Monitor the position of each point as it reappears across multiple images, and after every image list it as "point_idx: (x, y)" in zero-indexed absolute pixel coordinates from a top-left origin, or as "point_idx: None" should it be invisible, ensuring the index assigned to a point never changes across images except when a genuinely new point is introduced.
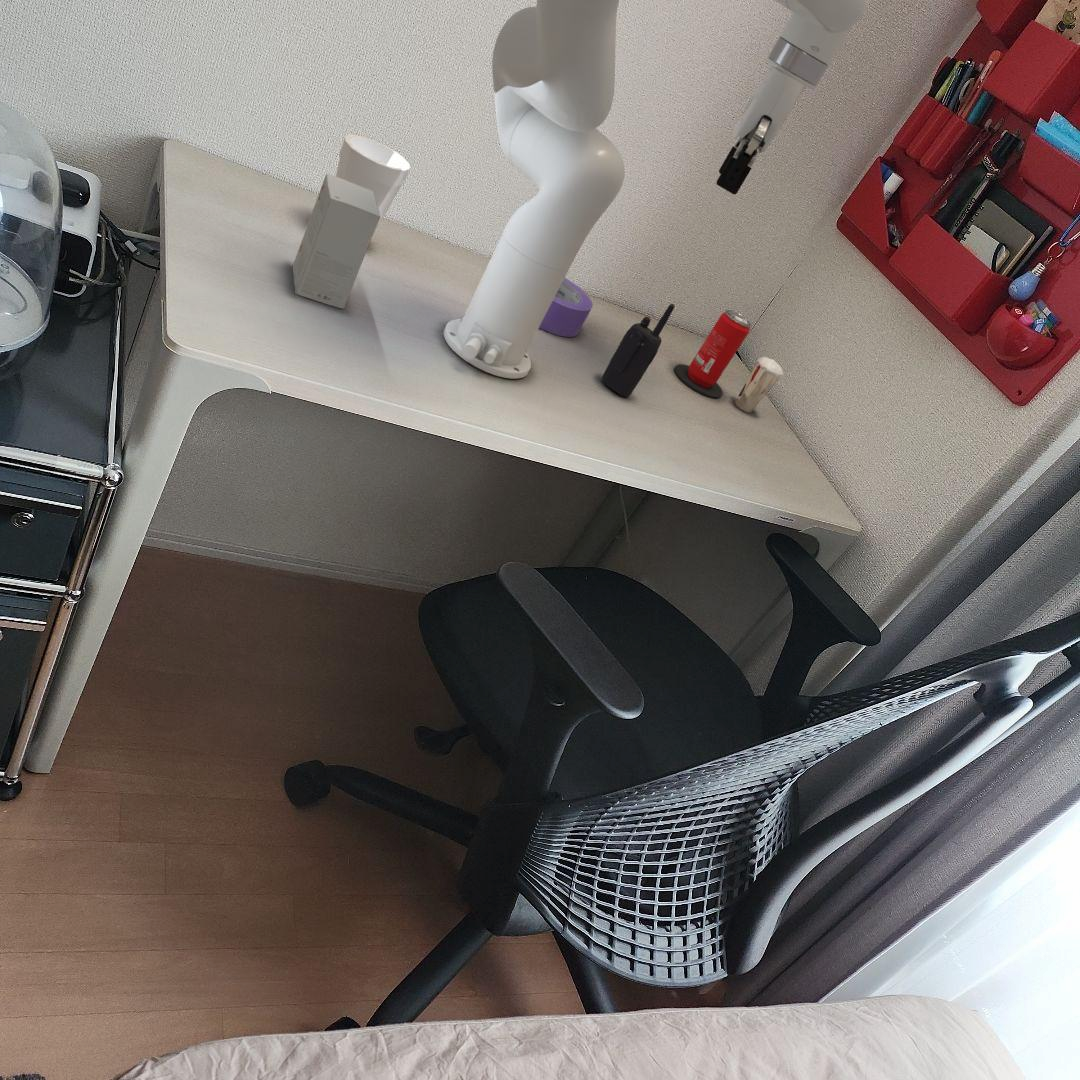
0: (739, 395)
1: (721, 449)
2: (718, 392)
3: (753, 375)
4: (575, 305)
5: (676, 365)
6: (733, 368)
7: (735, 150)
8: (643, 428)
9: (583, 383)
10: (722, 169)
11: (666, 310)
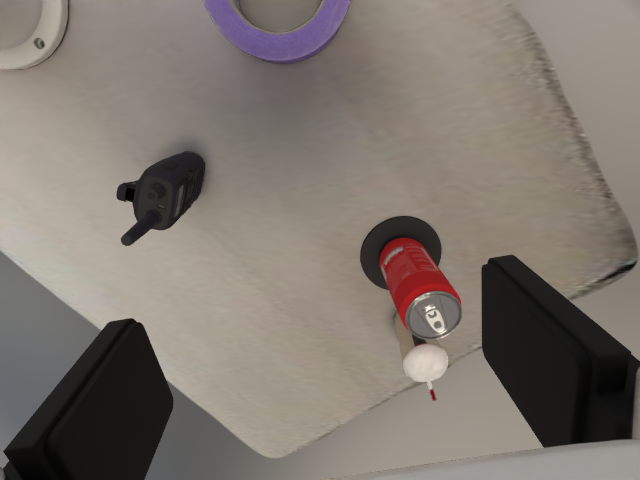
0: None
1: (230, 323)
2: None
3: (407, 338)
4: (246, 34)
5: (406, 217)
6: None
7: (570, 378)
8: None
9: (134, 138)
10: (492, 279)
11: (127, 231)
